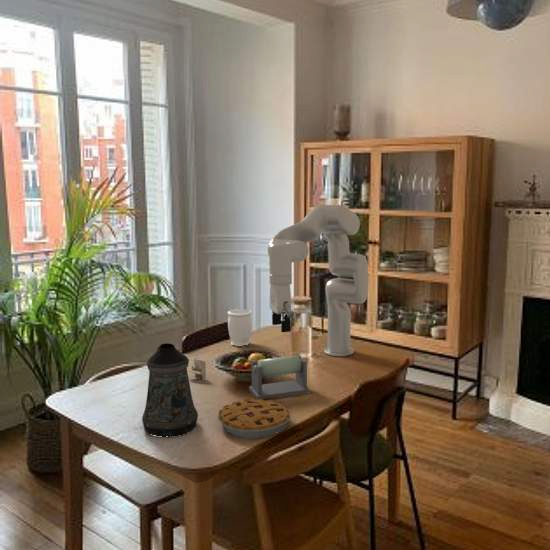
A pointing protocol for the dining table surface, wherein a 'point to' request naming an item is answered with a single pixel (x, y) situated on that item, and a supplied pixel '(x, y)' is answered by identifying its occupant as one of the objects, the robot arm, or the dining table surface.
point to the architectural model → (199, 369)
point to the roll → (279, 366)
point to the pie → (254, 418)
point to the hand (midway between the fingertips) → (281, 328)
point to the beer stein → (169, 394)
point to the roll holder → (278, 384)
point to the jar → (239, 326)
